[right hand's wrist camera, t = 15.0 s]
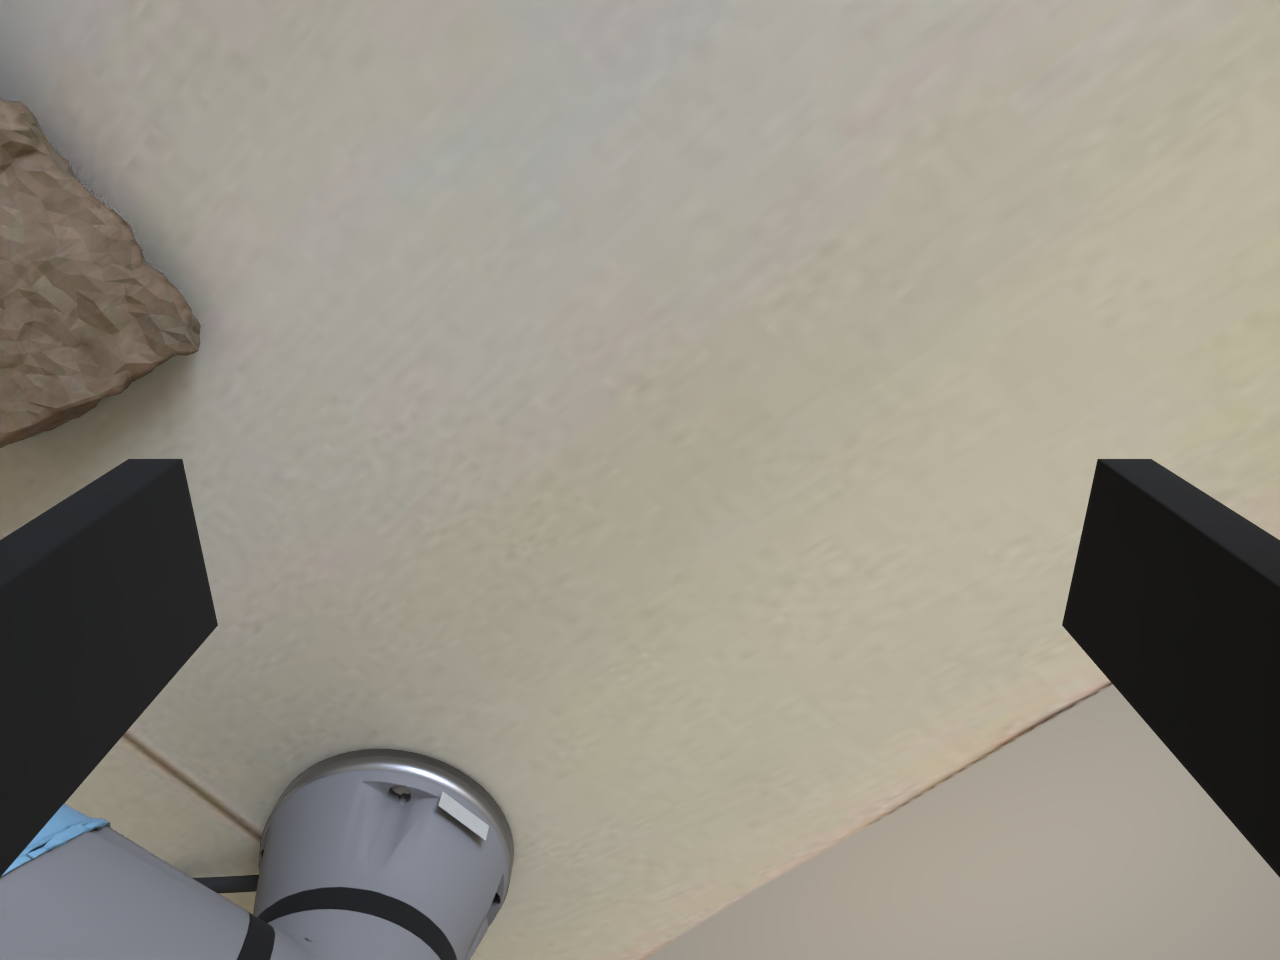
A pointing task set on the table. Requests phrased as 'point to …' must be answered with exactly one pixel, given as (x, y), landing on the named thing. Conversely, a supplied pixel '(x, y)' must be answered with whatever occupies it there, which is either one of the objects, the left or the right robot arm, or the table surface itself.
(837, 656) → the table surface
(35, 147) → the stone
